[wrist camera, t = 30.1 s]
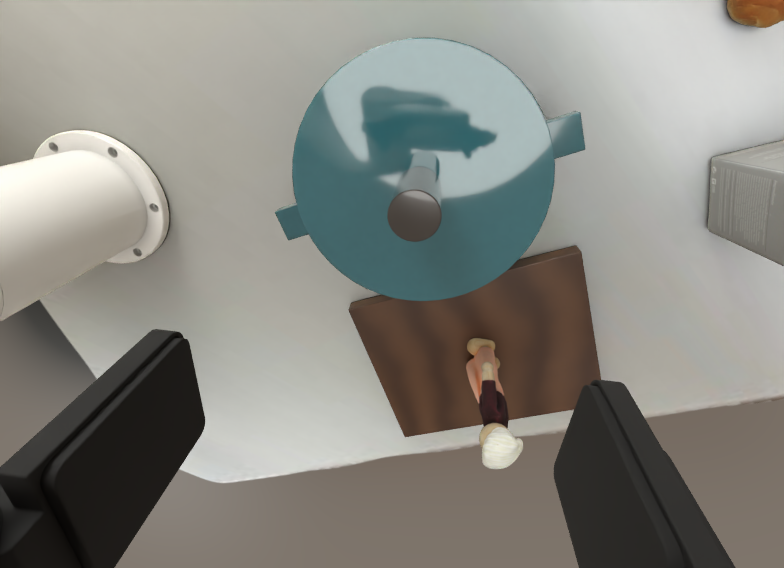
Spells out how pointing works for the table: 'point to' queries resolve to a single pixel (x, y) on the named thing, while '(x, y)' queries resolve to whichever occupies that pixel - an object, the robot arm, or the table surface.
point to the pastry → (756, 12)
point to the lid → (423, 169)
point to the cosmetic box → (750, 199)
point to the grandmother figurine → (491, 406)
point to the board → (493, 322)
